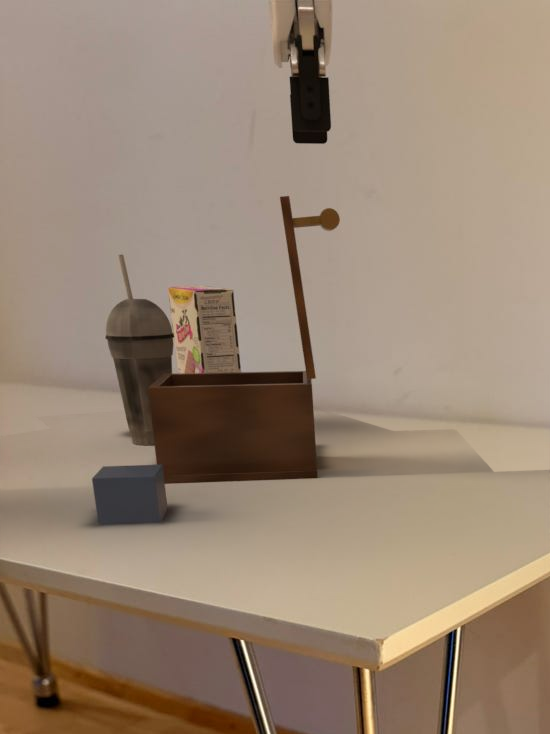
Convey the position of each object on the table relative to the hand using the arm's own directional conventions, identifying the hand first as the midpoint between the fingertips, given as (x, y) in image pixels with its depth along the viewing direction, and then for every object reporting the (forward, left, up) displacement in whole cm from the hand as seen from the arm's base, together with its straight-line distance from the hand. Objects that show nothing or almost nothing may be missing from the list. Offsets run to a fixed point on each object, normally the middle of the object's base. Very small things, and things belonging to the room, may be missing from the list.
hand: (311, 137), depth 88 cm
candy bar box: (-14, +29, -30) cm, 44 cm away
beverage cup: (-20, +19, -30) cm, 40 cm away
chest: (-9, +1, -30) cm, 31 cm away
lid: (-2, +1, -13) cm, 13 cm away
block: (-16, -21, -30) cm, 40 cm away
